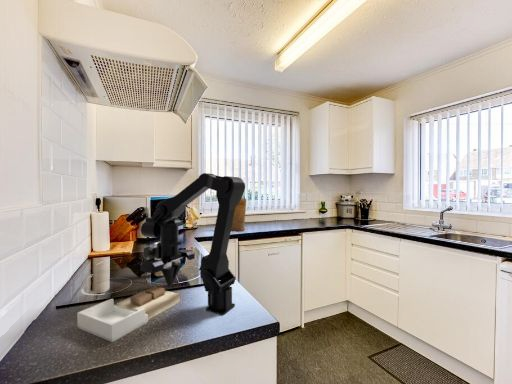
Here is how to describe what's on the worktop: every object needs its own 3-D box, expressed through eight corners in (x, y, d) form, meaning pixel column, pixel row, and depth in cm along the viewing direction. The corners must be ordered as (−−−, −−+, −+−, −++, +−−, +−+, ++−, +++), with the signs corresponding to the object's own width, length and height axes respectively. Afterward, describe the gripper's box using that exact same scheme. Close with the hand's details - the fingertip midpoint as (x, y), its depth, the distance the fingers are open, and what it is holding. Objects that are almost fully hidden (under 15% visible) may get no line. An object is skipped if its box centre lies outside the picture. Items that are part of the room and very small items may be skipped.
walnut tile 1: (151, 301, 75) (151, 294, 75) (139, 306, 71) (139, 299, 71) (142, 298, 76) (142, 291, 76) (130, 303, 73) (130, 297, 73)
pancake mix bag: (247, 231, 213) (246, 198, 213) (224, 232, 211) (223, 198, 210) (246, 230, 219) (246, 198, 219) (224, 230, 217) (224, 198, 217)
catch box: (148, 322, 68) (147, 307, 68) (112, 342, 59) (112, 325, 59) (114, 311, 74) (114, 297, 74) (77, 327, 65) (77, 312, 65)
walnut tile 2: (164, 294, 79) (164, 288, 79) (154, 299, 76) (154, 293, 76) (155, 292, 81) (155, 286, 81) (145, 297, 77) (144, 290, 77)
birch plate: (180, 301, 80) (179, 294, 80) (145, 321, 68) (145, 312, 68) (153, 295, 85) (153, 287, 85) (116, 311, 73) (116, 303, 73)
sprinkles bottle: (163, 272, 109) (162, 241, 109) (168, 274, 106) (167, 242, 106) (152, 274, 105) (152, 242, 105) (157, 277, 102) (157, 244, 102)
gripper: (172, 232, 96) (172, 273, 96) (127, 242, 79) (128, 291, 79) (195, 235, 91) (195, 278, 91) (153, 245, 74) (153, 298, 74)
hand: (169, 285), depth 84 cm, fingers closed
